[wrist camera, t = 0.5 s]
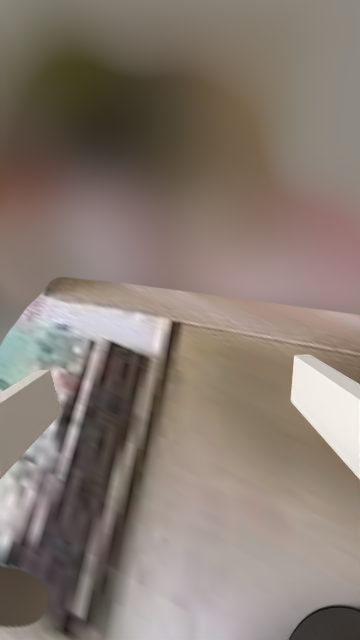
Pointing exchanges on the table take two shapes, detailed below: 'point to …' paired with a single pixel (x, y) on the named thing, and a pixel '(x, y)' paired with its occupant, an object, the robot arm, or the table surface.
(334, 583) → the table surface
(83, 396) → the table surface
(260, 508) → the table surface
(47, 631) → the table surface
